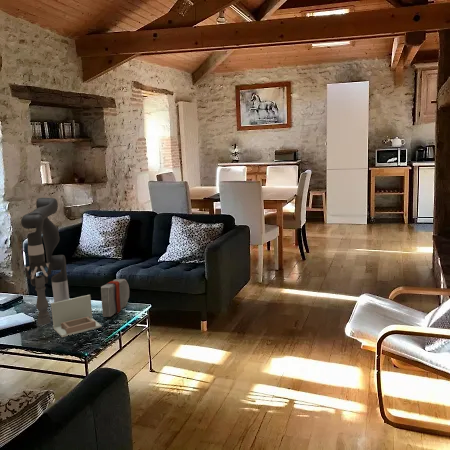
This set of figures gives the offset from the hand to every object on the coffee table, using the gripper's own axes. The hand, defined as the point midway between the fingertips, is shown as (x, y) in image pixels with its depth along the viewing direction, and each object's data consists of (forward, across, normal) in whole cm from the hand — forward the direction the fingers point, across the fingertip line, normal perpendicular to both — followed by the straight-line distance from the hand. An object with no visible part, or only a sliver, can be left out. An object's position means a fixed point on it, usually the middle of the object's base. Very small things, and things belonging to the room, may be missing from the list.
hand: (39, 284), depth 266 cm
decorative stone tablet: (+30, -46, -14) cm, 57 cm away
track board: (+30, -18, -3) cm, 35 cm away
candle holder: (+21, 0, 0) cm, 21 cm away
